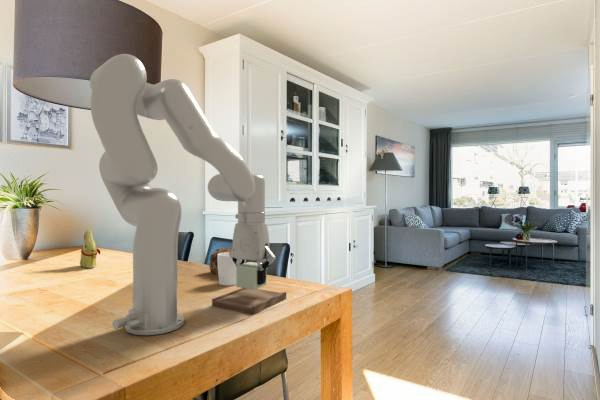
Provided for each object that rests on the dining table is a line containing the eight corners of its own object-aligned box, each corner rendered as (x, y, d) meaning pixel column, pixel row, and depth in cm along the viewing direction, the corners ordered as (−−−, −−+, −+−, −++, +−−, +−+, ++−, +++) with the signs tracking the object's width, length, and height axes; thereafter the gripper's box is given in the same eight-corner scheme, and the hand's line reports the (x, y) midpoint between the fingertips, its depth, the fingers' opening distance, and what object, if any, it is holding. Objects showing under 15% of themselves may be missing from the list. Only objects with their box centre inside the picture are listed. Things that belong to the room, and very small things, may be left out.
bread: (262, 275, 139) (262, 249, 138) (240, 280, 130) (241, 252, 130) (229, 268, 150) (229, 244, 150) (208, 273, 142) (208, 247, 142)
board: (254, 314, 94) (254, 306, 94) (212, 305, 101) (212, 298, 101) (286, 298, 108) (286, 292, 108) (247, 292, 115) (247, 286, 115)
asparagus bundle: (85, 270, 144) (85, 231, 144) (77, 265, 152) (77, 229, 151) (104, 267, 149) (104, 230, 148) (95, 263, 157) (95, 228, 156)
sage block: (254, 289, 101) (254, 267, 100) (236, 286, 103) (236, 265, 103) (266, 284, 106) (266, 263, 106) (249, 282, 109) (249, 261, 109)
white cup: (235, 287, 121) (235, 256, 121) (213, 285, 123) (213, 255, 123) (244, 281, 129) (244, 252, 129) (222, 280, 130) (223, 251, 130)
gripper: (218, 218, 105) (218, 281, 105) (270, 221, 97) (270, 289, 97) (235, 216, 111) (235, 276, 112) (284, 219, 103) (284, 283, 104)
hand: (251, 281), depth 105 cm, fingers closed on sage block, 6 cm apart
